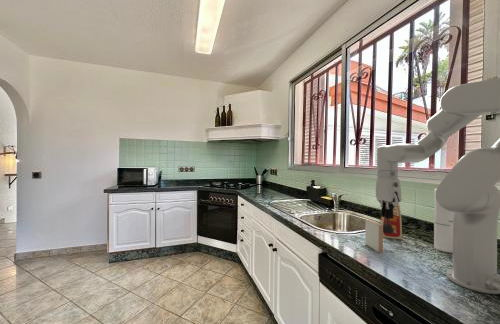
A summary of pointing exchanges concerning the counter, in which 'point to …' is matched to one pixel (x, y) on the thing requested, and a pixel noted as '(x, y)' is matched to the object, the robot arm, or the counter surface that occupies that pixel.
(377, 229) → the tile
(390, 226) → the wooden tabletop sculpture
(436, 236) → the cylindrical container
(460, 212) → the robot arm
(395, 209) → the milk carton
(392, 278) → the counter surface
